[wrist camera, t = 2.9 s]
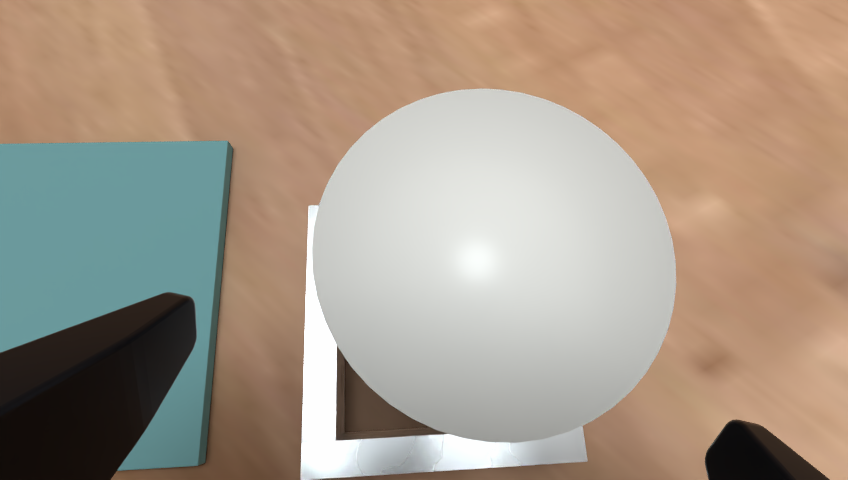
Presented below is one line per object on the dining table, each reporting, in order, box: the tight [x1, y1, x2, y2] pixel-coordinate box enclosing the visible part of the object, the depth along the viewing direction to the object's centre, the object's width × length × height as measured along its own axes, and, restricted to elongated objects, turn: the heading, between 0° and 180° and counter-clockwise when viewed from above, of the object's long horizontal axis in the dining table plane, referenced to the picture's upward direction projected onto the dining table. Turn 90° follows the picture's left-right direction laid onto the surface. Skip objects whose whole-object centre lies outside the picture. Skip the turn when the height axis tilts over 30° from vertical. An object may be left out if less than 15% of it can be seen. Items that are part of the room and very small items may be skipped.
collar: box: [301, 205, 587, 480], centre depth 16 cm, size 9×9×2 cm
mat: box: [0, 141, 233, 471], centre depth 17 cm, size 12×10×1 cm
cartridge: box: [312, 89, 676, 443], centre depth 12 cm, size 5×5×12 cm
